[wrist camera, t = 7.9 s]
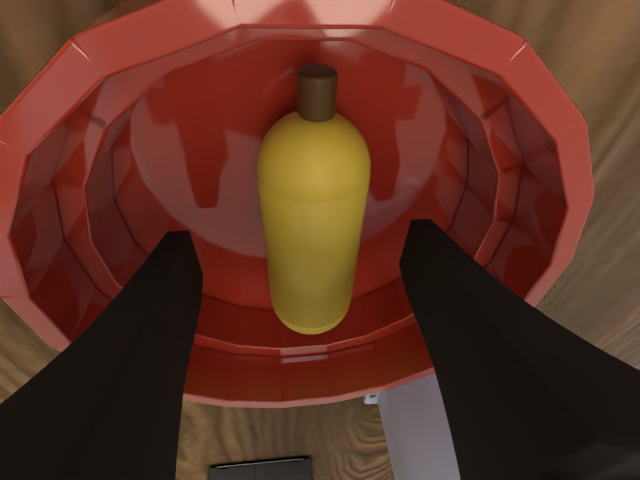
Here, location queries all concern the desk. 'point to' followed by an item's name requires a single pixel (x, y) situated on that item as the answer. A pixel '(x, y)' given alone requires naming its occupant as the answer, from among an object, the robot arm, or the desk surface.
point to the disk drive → (265, 471)
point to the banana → (313, 205)
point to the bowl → (242, 183)
